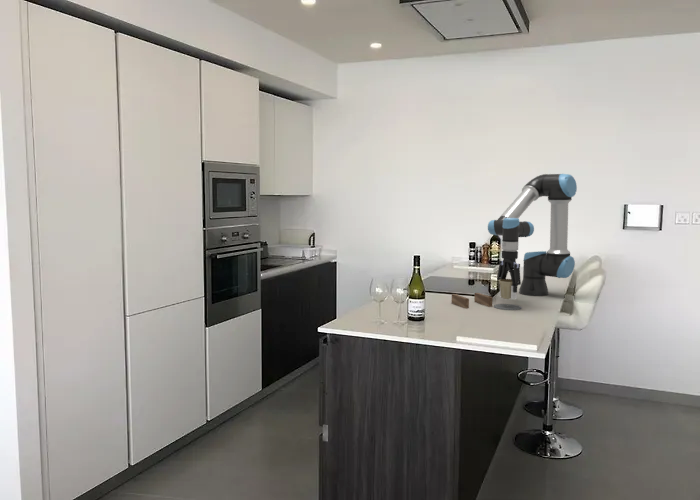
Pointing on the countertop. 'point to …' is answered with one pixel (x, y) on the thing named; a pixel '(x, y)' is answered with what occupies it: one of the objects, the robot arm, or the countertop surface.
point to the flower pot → (505, 288)
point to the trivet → (507, 306)
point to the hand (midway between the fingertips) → (508, 297)
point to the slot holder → (478, 298)
